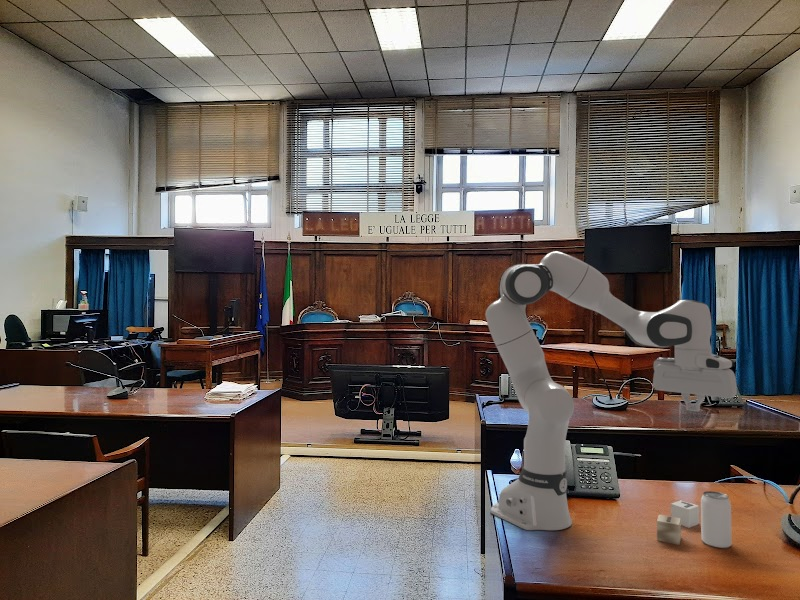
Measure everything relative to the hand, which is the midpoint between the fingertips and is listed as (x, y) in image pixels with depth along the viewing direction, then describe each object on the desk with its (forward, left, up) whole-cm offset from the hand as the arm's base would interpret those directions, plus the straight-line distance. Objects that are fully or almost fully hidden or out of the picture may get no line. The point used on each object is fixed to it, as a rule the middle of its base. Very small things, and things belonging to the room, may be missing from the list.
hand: (692, 410), depth 144 cm
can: (+8, -7, -31) cm, 33 cm away
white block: (-2, +1, -31) cm, 31 cm away
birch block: (-1, -13, -31) cm, 34 cm away
